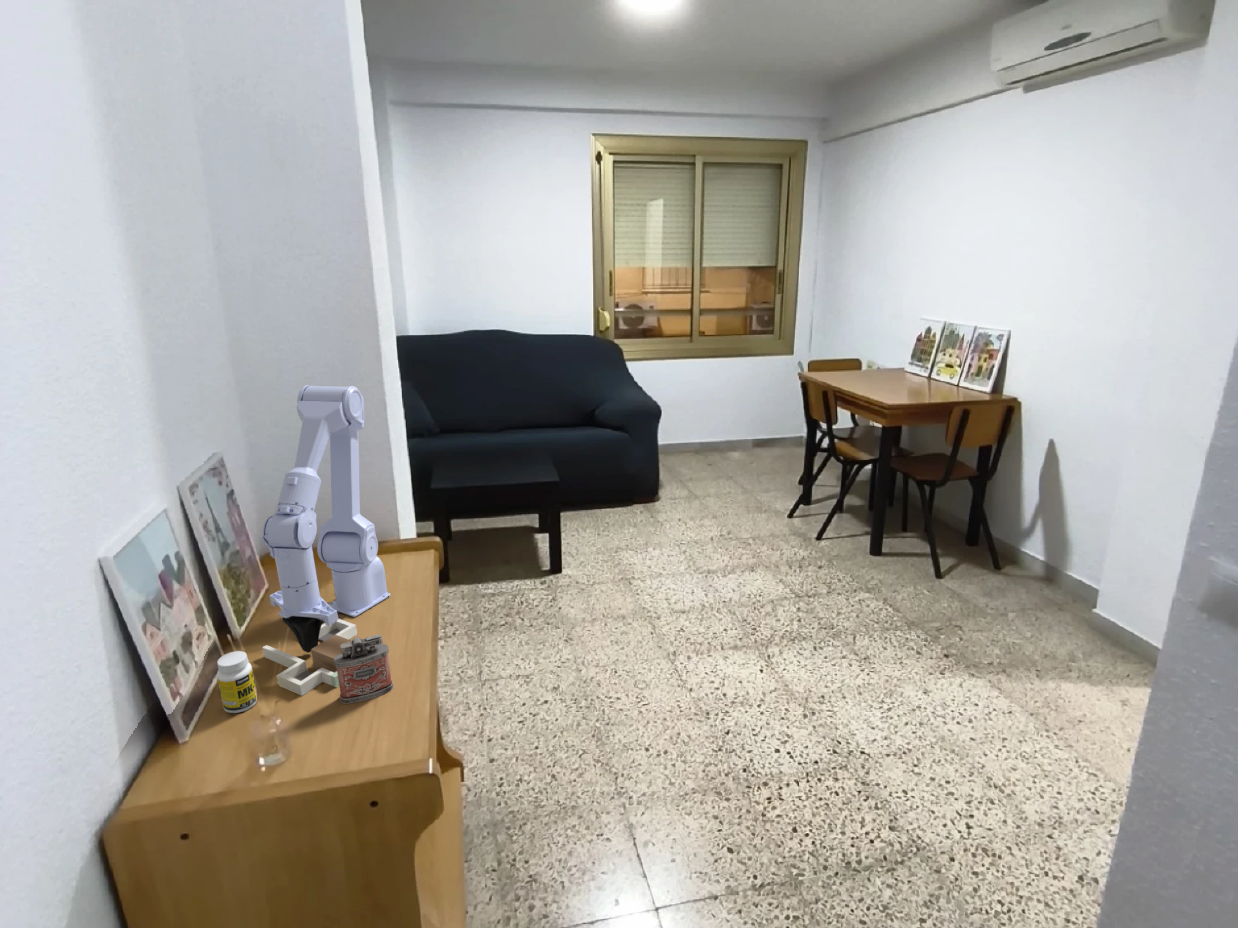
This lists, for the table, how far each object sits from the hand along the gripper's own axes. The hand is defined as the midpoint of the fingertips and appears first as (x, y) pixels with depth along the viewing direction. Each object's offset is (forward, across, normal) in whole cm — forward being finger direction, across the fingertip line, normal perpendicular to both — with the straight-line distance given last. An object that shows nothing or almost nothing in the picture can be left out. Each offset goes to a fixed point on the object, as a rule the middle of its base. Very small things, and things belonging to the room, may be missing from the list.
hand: (310, 648), depth 117 cm
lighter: (+1, +17, -3) cm, 17 cm away
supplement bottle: (+1, +1, -14) cm, 14 cm away
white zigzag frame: (+1, +2, 0) cm, 3 cm away
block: (+1, +7, 0) cm, 7 cm away
